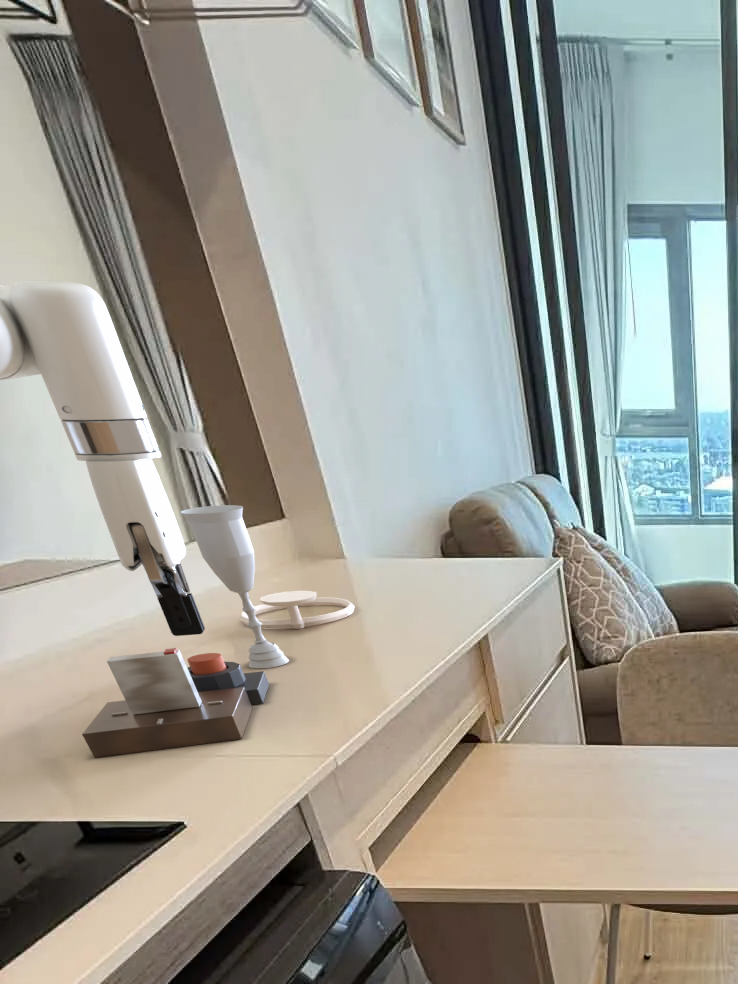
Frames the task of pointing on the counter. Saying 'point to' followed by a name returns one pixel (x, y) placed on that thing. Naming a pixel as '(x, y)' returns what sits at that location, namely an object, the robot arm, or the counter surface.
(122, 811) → the counter surface
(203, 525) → the chalice
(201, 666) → the button
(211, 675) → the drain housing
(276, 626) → the hand towel holder
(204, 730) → the block
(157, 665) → the grey metal plate
